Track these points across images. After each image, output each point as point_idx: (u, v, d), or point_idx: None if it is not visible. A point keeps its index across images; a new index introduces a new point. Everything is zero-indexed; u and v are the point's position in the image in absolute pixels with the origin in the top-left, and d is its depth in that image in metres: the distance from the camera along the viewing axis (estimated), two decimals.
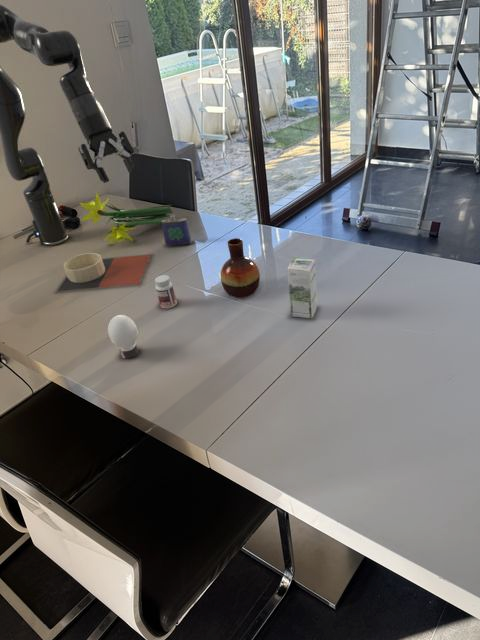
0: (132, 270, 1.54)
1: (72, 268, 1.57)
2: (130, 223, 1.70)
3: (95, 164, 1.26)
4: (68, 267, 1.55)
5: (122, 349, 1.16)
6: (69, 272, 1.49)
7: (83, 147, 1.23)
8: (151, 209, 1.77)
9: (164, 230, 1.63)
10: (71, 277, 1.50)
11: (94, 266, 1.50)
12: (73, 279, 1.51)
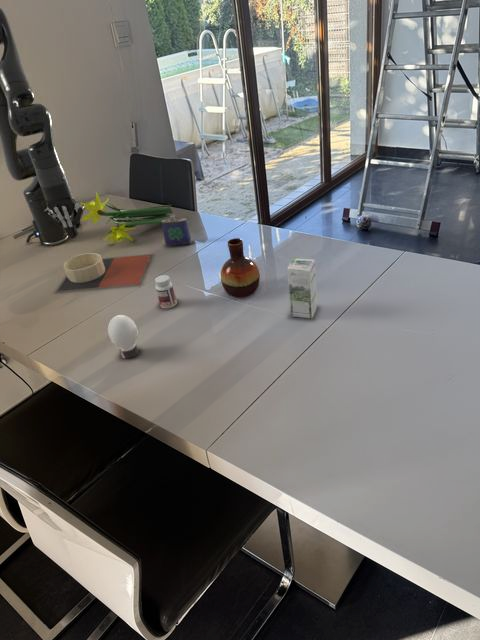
0: (132, 270, 1.54)
1: (72, 268, 1.57)
2: (130, 223, 1.70)
3: (63, 225, 1.45)
4: (68, 267, 1.55)
5: (122, 349, 1.16)
6: (69, 272, 1.49)
7: (45, 214, 1.42)
8: (151, 209, 1.77)
9: (164, 230, 1.63)
10: (71, 277, 1.50)
11: (94, 266, 1.50)
12: (73, 279, 1.51)
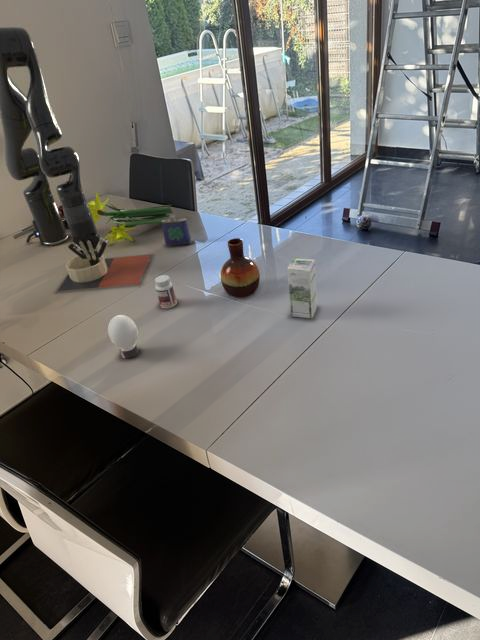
0: (132, 270, 1.54)
1: (74, 268, 1.57)
2: (130, 223, 1.70)
3: (87, 258, 1.51)
4: (70, 267, 1.55)
5: (122, 349, 1.16)
6: (71, 272, 1.49)
7: (70, 248, 1.49)
8: (151, 209, 1.77)
9: (164, 230, 1.63)
10: (73, 277, 1.50)
11: (96, 266, 1.50)
12: (75, 279, 1.51)
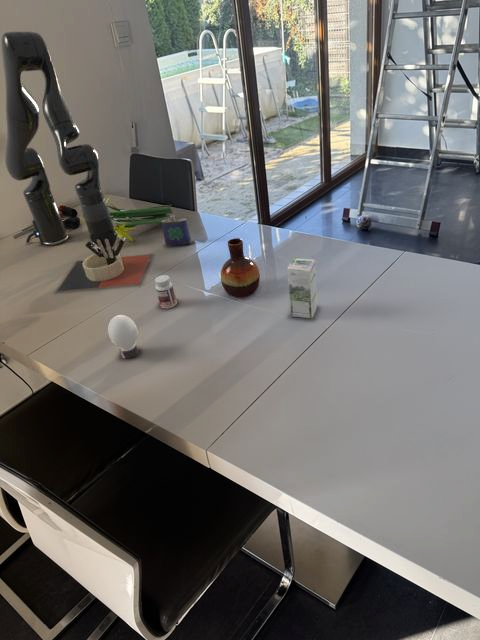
0: (132, 270, 1.54)
1: (91, 267, 1.56)
2: (130, 223, 1.70)
3: (104, 256, 1.51)
4: (87, 265, 1.54)
5: (122, 349, 1.16)
6: (88, 271, 1.49)
7: (87, 246, 1.48)
8: (151, 209, 1.77)
9: (164, 230, 1.63)
10: (90, 276, 1.50)
11: (113, 265, 1.49)
12: (92, 278, 1.50)
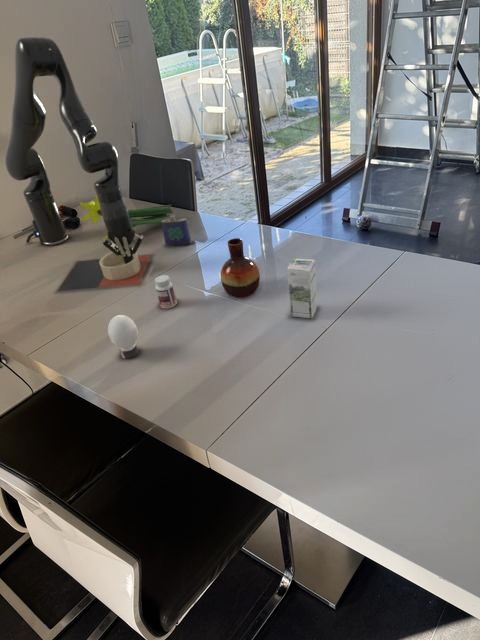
0: None
1: (107, 265, 1.56)
2: None
3: (121, 254, 1.50)
4: (103, 264, 1.54)
5: (122, 349, 1.16)
6: (106, 269, 1.48)
7: (105, 244, 1.48)
8: (151, 209, 1.77)
9: (164, 230, 1.63)
10: (107, 274, 1.49)
11: (131, 263, 1.49)
12: (109, 276, 1.49)
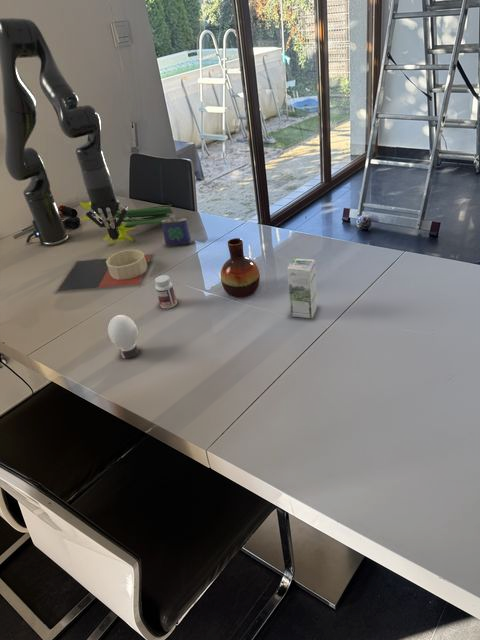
0: None
1: (113, 265, 1.55)
2: (130, 223, 1.70)
3: (105, 227, 1.45)
4: (110, 264, 1.53)
5: (122, 349, 1.16)
6: (112, 269, 1.48)
7: (88, 216, 1.42)
8: (151, 209, 1.77)
9: (164, 230, 1.63)
10: (114, 274, 1.49)
11: (137, 263, 1.49)
12: (116, 276, 1.49)
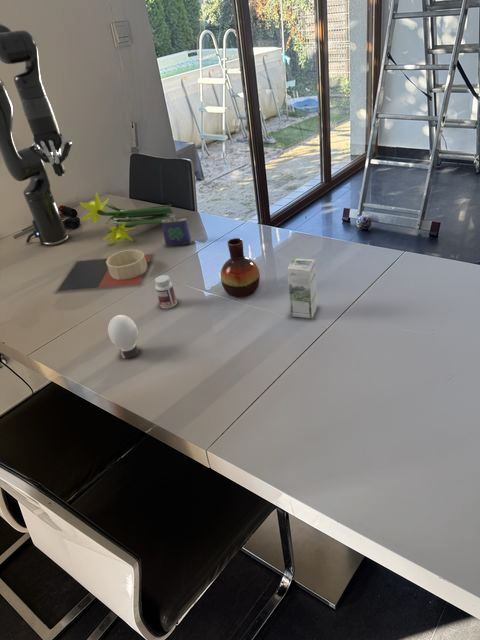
0: None
1: (113, 265, 1.55)
2: (130, 223, 1.70)
3: (50, 162, 1.44)
4: (110, 264, 1.53)
5: (122, 349, 1.16)
6: (112, 269, 1.48)
7: (31, 150, 1.41)
8: (151, 209, 1.77)
9: (164, 230, 1.63)
10: (114, 274, 1.49)
11: (137, 263, 1.49)
12: (116, 276, 1.49)
